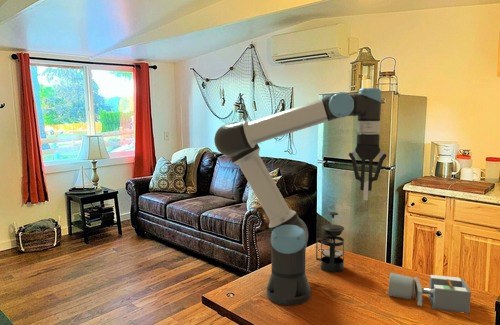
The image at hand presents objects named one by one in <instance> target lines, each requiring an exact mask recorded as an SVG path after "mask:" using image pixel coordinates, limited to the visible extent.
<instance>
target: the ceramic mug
mask: <svg viewBox="0 0 500 325" xmlns="http://www.w3.org/2000/svg"><path fill="white" fill-rule="evenodd" d="M414 289H415V279H414V277H412V276H406V275H402V274H398V273H395V272H390V274H389V280H388V289H387V296H389V297H394V298H395V297H396V298H399V299H405V300H413V299H414V298H415V292H414Z"/></svg>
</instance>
